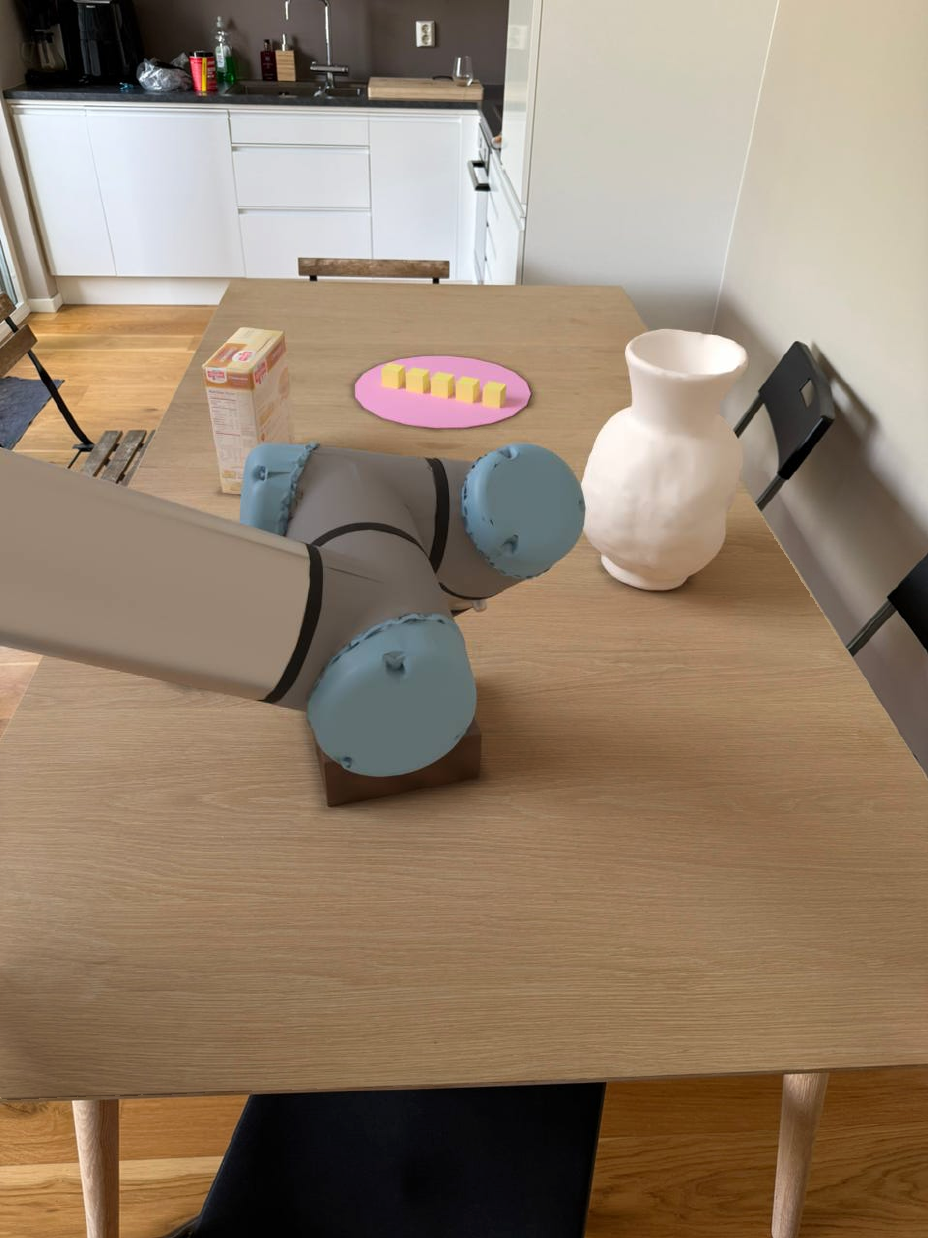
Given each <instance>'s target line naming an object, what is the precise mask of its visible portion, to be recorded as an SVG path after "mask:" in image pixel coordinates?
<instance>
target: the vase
mask: <svg viewBox="0 0 928 1238" xmlns="http://www.w3.org/2000/svg"><path fill="white" fill-rule="evenodd" d="M624 356H625V361H626V364H627V369H628V374H629V381H630V387H631V405H630V406H628V407H626V408H624V409H622V410H619V411H617V412H615V414H614V415H612V416H610V418H609V419H608V420H607V422H606V423H605V424H604V425H603V426H602V428H601V429H600V432H599V433H598V434H597V437H596V439H595V441H594V443H593V446H592V450H591V452H590V454H589V455H588V459H587V462H586V466H585V468H584V472H583V477H582V480H581V483H580V485H581V488H582V491H583V495H584V501H585V507H586V511H585V522H584V527H583V530H582V532H583V533H584V535H585V537H586V539H587V540H588V541H589V543H590V544H591V545H592V546H593V547H594V549H596V550H597V551H598V552H599V553H600V554H601V555H600V556H601V558H600V562H601V564H602V566H603V567H604V569H605V570H606V571H607V572H608V573H609V574H610V576H611V577H613V578H614V579H616V580H617V581H619V582H621V583H623V584H625V585H628V586H631V587H633V588H637V589H641V590H646V591H668V590H673V589H675V588H679V587H680V586H682V585H683V584H685V582H686V580H687V579H688V578H689V577H690V576H693V575H694V574H696V573H698V572H699V571H701V570H703V569H704V567H706V566H707V565H708V564H709V563H711V562H712V561H713V560H714V559H715V557H717V555H718V554H719V552H720V551H721V549H722V547H723V545H724V542H725V539H726V534H727V529H726V525H727V524H726V523H727V520H726V517H727V514H728V513H729V511H730V509H731V508H732V506H733V504H734V501H735V499H736V494H737V492H738V489H739V481H740V477H741V475H742V473H743V469H744V464H745V460H744V459H745V458H744V450H743V447H742V445H741V442H740V440H739V438H738V437H737V435H736V433H735V431H734V430H733V428H732V427H731V425H730V424H729V423H728V422H727V421H726V419H724V418H723V417H722V415H720V414H719V413H718V411H719V410H720V408H721V406H722V404H723V403H724V401H725V399H726V397H727V396H728V394H729V392H730V391H731V390H732V388H733V387H734V386H735V384H736V383H737V382H738V380H739V379H740V378H741V376H742V375H743V374H744V373H745V372H746V369H747V367H748V365H749V364H748V363H749V356H748V353H747V351H746V349H745V348H744V347H743V346H742V345H740V344H739V343H738V342H736V341H734V340H732V339H730V338H726V337H723V336H721V335H718V334H707V333H702V332H700V331H686V330H683V329H673V328H660V329H657V330H651V331H646V332H644V333H642V334H640V335H638V336H635V337H634V338H633V339H631V340H630V341H629V342H628V343H627V345H626V347H625V351H624Z"/></svg>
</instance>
